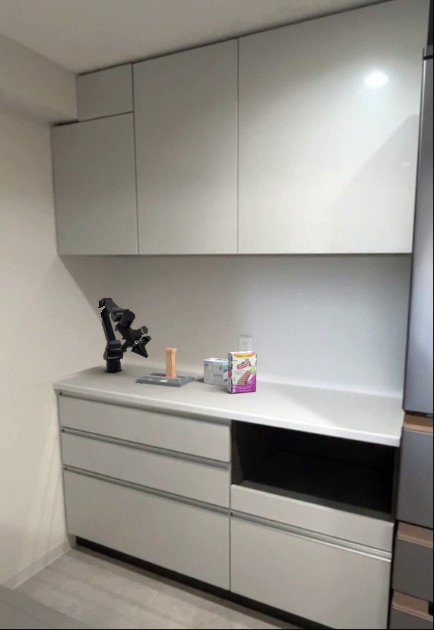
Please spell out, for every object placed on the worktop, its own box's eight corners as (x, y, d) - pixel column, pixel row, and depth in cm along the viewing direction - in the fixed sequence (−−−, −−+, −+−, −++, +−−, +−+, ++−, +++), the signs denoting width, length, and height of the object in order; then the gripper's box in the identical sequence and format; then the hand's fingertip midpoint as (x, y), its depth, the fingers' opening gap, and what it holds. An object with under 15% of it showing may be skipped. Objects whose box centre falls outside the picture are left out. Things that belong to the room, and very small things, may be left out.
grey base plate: (136, 382, 195) (136, 376, 195) (153, 376, 208) (153, 370, 207) (179, 387, 186) (179, 381, 186) (194, 380, 199) (194, 374, 199)
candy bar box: (231, 394, 175) (231, 354, 173) (227, 391, 180) (227, 352, 178) (256, 391, 178) (257, 352, 177) (252, 388, 183) (252, 350, 182)
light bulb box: (231, 383, 193) (231, 359, 192) (223, 386, 187) (223, 361, 187) (211, 380, 199) (211, 357, 198) (203, 383, 193) (203, 359, 192)
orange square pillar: (164, 378, 195) (164, 349, 193) (169, 376, 198) (168, 347, 197) (172, 379, 193) (172, 349, 192) (176, 377, 197) (176, 348, 195)
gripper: (125, 322, 192) (147, 349, 189) (147, 318, 209) (168, 342, 206) (111, 339, 196) (132, 365, 193) (134, 333, 213) (153, 357, 210)
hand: (147, 357), depth 200 cm, fingers closed
